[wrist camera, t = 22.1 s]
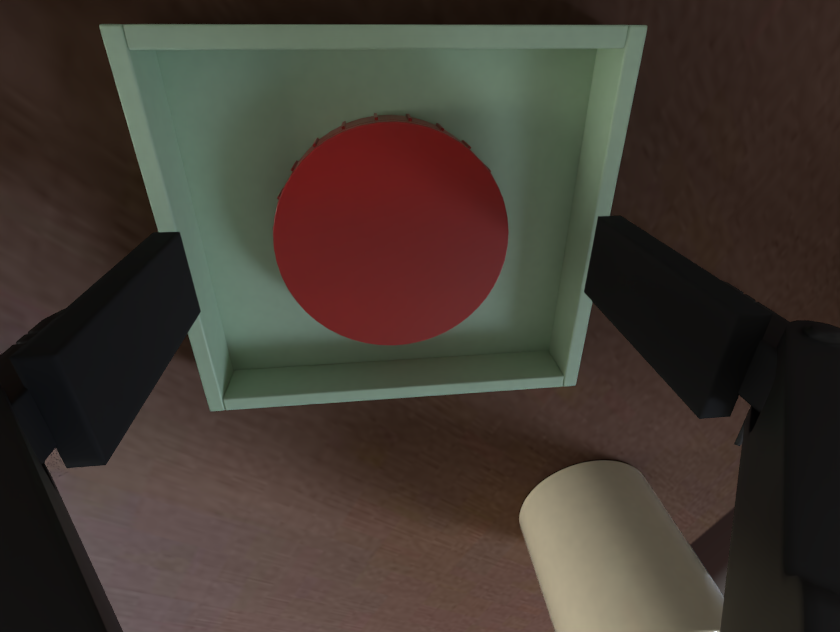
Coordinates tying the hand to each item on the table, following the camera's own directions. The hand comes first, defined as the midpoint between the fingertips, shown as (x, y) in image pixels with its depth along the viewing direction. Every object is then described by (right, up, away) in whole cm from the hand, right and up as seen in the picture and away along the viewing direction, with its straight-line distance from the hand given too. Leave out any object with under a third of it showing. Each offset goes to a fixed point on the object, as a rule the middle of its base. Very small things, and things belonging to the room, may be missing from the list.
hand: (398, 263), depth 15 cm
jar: (+11, -13, +13) cm, 21 cm away
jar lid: (0, +1, +2) cm, 2 cm away
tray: (0, +2, +3) cm, 4 cm away
